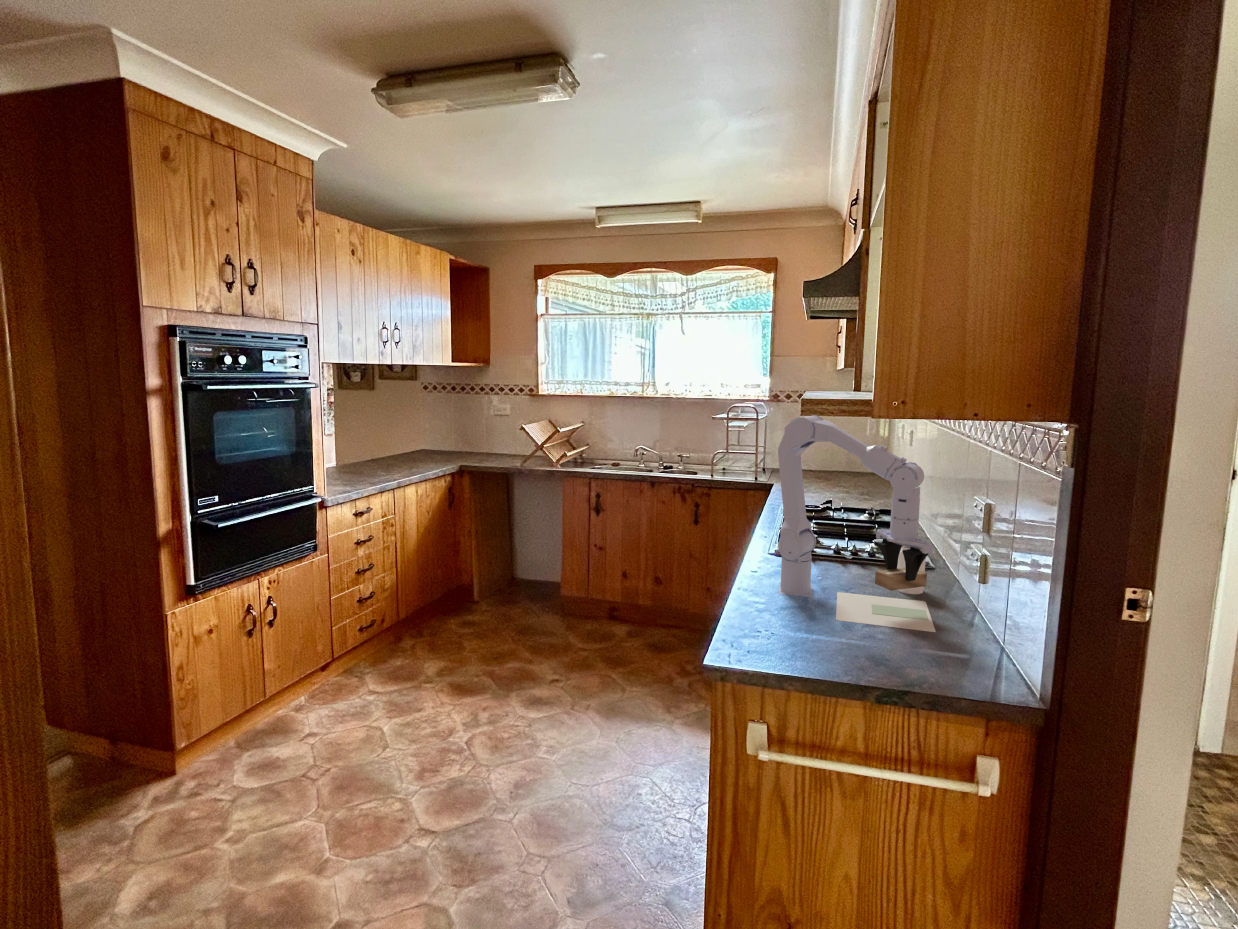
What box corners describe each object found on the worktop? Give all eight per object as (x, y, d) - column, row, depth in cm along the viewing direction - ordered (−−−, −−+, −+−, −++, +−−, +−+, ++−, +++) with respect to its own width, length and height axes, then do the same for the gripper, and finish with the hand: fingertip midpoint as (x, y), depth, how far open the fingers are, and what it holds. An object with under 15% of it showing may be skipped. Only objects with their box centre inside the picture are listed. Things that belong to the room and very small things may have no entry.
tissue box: (908, 579, 154) (910, 566, 153) (925, 586, 149) (927, 572, 149) (874, 583, 150) (875, 570, 150) (891, 590, 146) (892, 577, 145)
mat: (837, 594, 164) (837, 591, 164) (925, 603, 158) (925, 601, 158) (835, 622, 146) (835, 619, 145) (935, 634, 139) (935, 631, 139)
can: (925, 597, 163) (929, 549, 161) (897, 595, 164) (901, 548, 162) (919, 589, 169) (922, 543, 167) (892, 587, 170) (895, 541, 168)
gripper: (867, 512, 153) (863, 569, 155) (916, 526, 139) (912, 588, 141) (890, 510, 155) (887, 566, 157) (941, 523, 142) (937, 584, 144)
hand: (900, 576), depth 149 cm, fingers closed on tissue box, 5 cm apart
